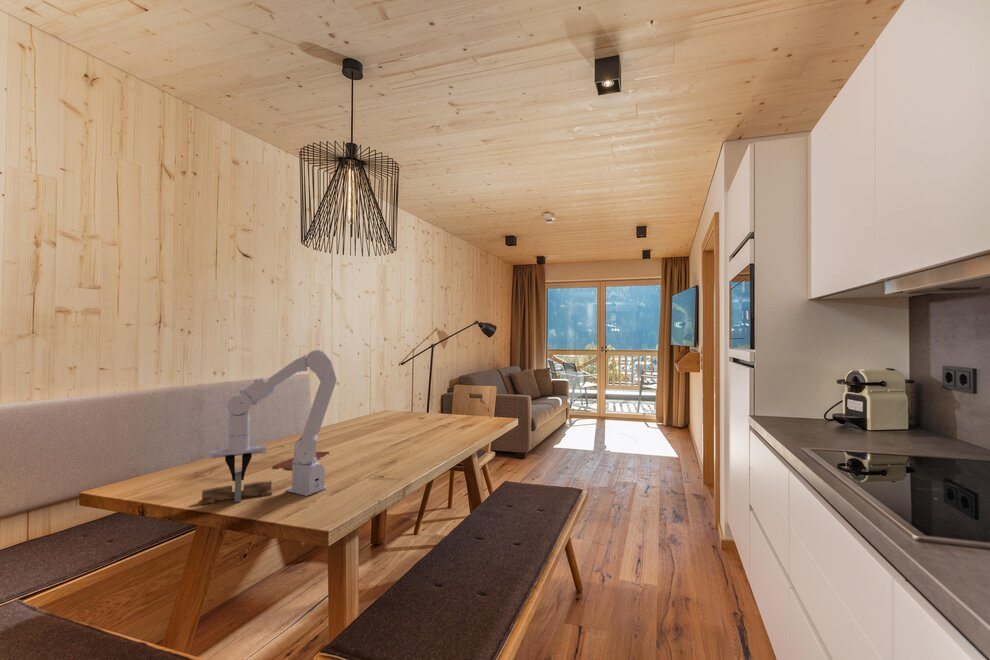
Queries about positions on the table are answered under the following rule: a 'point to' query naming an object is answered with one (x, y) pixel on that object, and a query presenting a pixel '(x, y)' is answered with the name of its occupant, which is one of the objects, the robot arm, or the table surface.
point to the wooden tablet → (288, 463)
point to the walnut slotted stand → (226, 492)
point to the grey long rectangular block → (238, 485)
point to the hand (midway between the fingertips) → (238, 479)
